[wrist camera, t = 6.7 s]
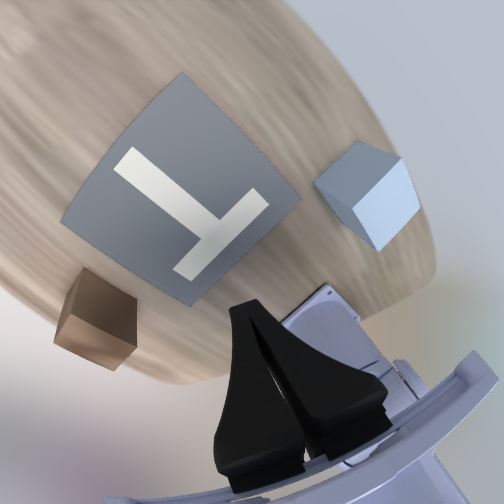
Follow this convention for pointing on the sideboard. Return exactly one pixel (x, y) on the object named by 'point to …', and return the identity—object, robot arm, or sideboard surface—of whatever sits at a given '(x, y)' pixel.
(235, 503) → the robot arm
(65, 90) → the sideboard surface
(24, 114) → the sideboard surface
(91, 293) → the walnut block
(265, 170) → the letter card
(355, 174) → the blue cube
